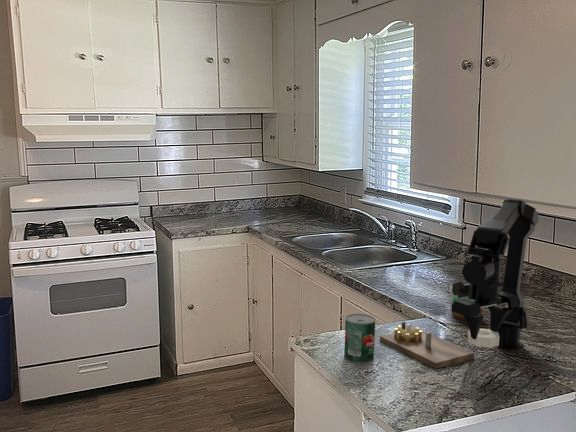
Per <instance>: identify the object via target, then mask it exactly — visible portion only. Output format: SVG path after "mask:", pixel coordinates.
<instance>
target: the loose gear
mask: <svg viewBox="0 0 576 432" xmlns="http://www.w3.org/2000/svg"><path fill="white" fill-rule="evenodd" d="M499 337H500V336H499V333H498V332H494V331H492V330H490V328H481V327H480V330H479V333H478V336H477V338H476V339H472V337H471V334H470V330H469V329H468V332H467V342H468V344H471V345H473V346H476V347H477V348H488V349H492V348H494V347H500V346H499Z"/></svg>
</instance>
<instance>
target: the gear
mask: <svg viewBox="0 0 576 432" xmlns="http://www.w3.org/2000/svg"><path fill="white" fill-rule="evenodd" d="M419 329H420V328H419V327H418V326H417V327H414V326H413V325H412V324H411V323H406V321H401V325H398V326H397V327H394V331H393V333H394V337H397V340H402V341H405V342H414V341H415V342H418V341H419V339H422V331H423V330H422V331H419Z"/></svg>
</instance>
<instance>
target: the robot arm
mask: <svg viewBox="0 0 576 432" xmlns="http://www.w3.org/2000/svg"><path fill="white" fill-rule="evenodd" d="M538 221H539V213H538V211H537V209H536V208H535V207H533V206H531V205H529V204H528V203H526V202H525V201H524V200H522V199H515V198H514V199H513V198H507V199H504V200H503V202H502V205H501V207H500V208H499V210H498V211H497V212H496V214H495V215H494V216H493V217H492V218H491V220H490V221H483V222H482V223H481V224H480V225H478V226H477V228H475V230H474V231H473V233H472V237H471V240H470V244H469V248H468V250H467V255H471V257H470V258H471V259H470V261H468V262H466V263H465V264H464V265H463V268H462V269H461V274H462V276H463V279H464V280H465V281H466V282H467V284H464V282H462V281H459V282H452V283H453V287H452V291H453V294H454V295H457V296H458V298H461V297H467V296H468V299H471V300H475V302H472V301H470V300H467V299H460V300H455V301H454V302H452V301H451V308H450V309H451V311H450V312H451V313H452V312H455V313H458V314H460V315H463V316H464V317H465V319H466V320H465V321H466V324H467V327H468V330H470V334H471V337H472V339H476V338H477V336H478V333H479V330H480V328H481V327H482V323H483V319H484V314H482V315H480V311H481V308H483V309H485V308H488V310H489V312H490V318H489V319H490V320H489V322H490V324H489V327H490V328H489V329H490V330H492V331H494V332H498V333H499V336H500V337H499V346H498V347H500V348H503V349H505V350H508V351H512V350H515V349H519V348H523V347H525V343H521V342H520V341H521V331H522V330H523V329H527V328H528V318H529V317H528V314H527V311H526V307H525V299H524V297H523V295H522V293H521V291H520V290H521V284H522V277H523V269H524V263H525V262H524V261H525V257H526V248H527V240H528V239H529V237H530V236H532V234H533V233H534V231H535V230H536V226H537V225H538ZM506 251H507V254H506ZM505 254H506V259H505V268H504V274H503V281H501V279H500V278H501V269H502V268H501V266H502V257H503V256H505ZM500 287H502V288H501V290H500Z"/></svg>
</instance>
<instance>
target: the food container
mask: <svg viewBox="0 0 576 432" xmlns="http://www.w3.org/2000/svg"><path fill="white" fill-rule="evenodd" d="M453 283H454V282H452V283H451V284H450V286H449V293H450V296H451V298H450V299H451V303H452V302H454V301H455V300H460V299H467V300H470V301H472V302H475V300H471V299H468V296H467V297H461V298H458V296H457V295H454V294H453V291H452V287H453ZM483 309H484V308H481V311H480V315H483ZM451 315H453V316H454V318H455V319H457V318H458V319H457V320H460V319H461V320H460V321H466V319H465V317H464V316H463V315H460V314H458V313H455V312H452V311H451ZM453 316H452V317H453Z"/></svg>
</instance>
